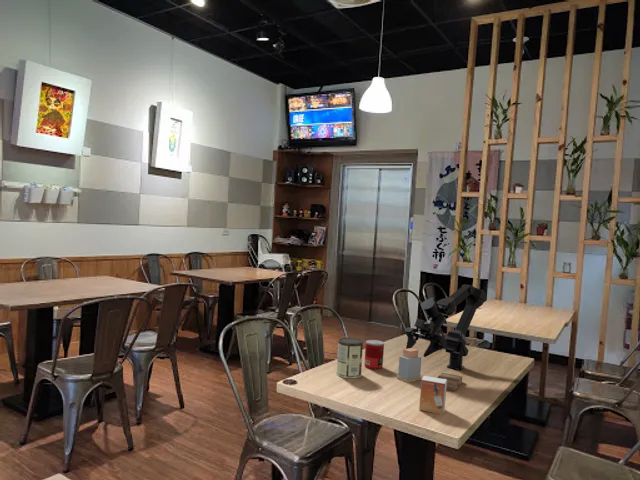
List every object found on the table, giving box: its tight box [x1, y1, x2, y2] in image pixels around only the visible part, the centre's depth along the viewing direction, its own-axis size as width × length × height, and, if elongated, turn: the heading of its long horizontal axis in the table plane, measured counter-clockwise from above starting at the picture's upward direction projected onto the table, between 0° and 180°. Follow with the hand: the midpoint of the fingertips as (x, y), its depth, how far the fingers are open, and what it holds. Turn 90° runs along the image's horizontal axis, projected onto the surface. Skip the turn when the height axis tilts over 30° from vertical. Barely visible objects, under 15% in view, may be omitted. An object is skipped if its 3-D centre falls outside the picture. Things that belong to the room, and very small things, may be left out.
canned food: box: [364, 339, 385, 370], centre depth 207 cm, size 8×8×11 cm
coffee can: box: [336, 337, 364, 379], centre depth 194 cm, size 10×10×14 cm
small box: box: [418, 375, 447, 416], centre depth 160 cm, size 8×6×10 cm
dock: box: [436, 371, 463, 392], centre depth 189 cm, size 14×8×3 cm, turn 152°
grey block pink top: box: [396, 347, 423, 384], centre depth 193 cm, size 9×6×12 cm, turn 130°
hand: (415, 353), depth 195 cm, fingers open, 9 cm apart
